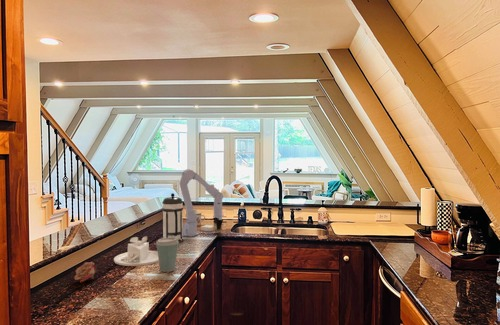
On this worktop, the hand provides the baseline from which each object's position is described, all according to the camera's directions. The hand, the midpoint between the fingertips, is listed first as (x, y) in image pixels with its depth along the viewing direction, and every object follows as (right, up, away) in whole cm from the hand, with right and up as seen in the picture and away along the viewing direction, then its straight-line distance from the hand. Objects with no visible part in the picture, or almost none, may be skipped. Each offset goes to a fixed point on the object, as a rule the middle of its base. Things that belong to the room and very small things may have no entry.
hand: (217, 228), depth 257 cm
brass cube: (0, -2, 0) cm, 2 cm away
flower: (-50, -6, -95) cm, 107 cm away
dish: (-36, -6, -61) cm, 71 cm away
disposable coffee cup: (-17, -6, -79) cm, 81 cm away
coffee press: (-25, -4, -24) cm, 35 cm away
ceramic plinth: (-7, -3, +10) cm, 12 cm away
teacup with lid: (-18, -2, +28) cm, 34 cm away
